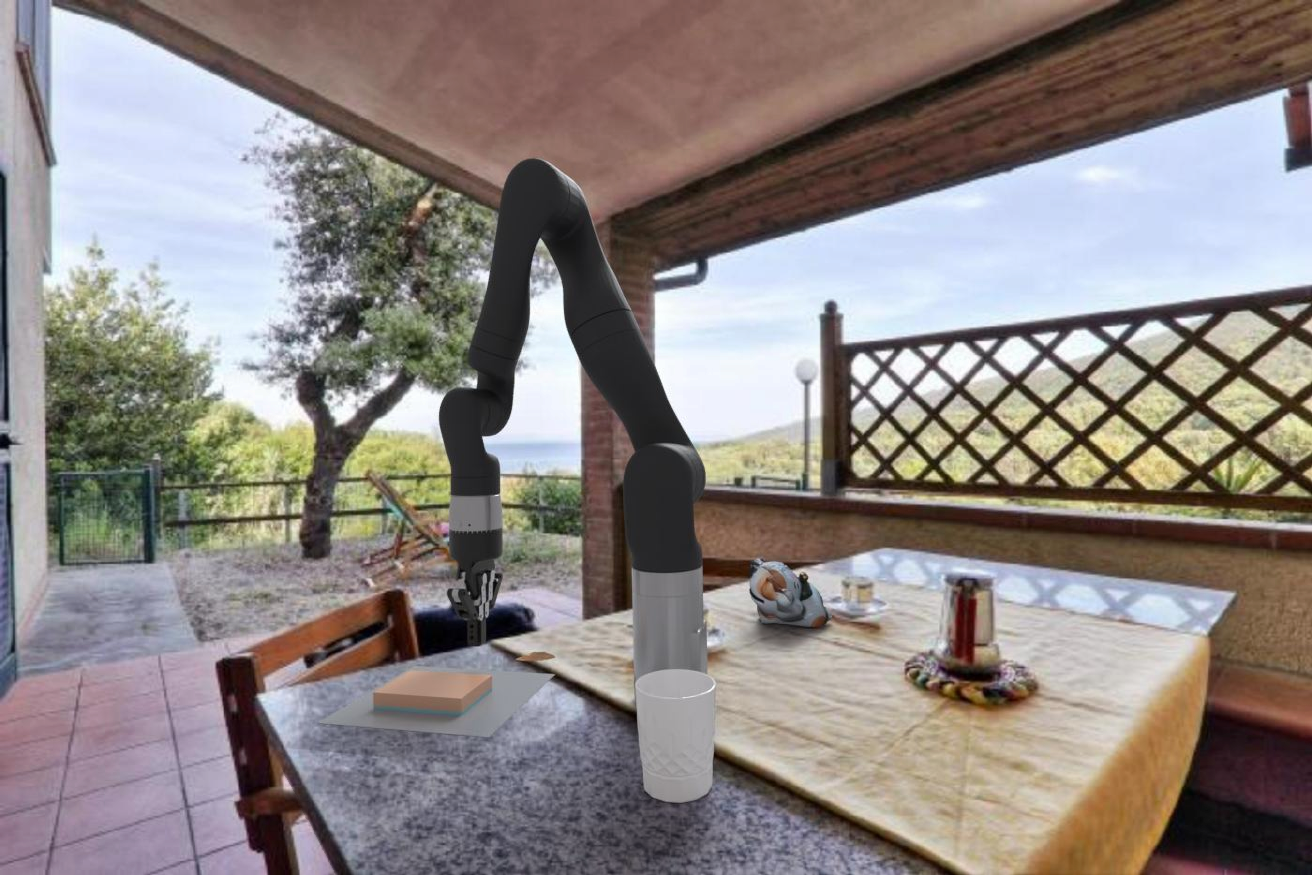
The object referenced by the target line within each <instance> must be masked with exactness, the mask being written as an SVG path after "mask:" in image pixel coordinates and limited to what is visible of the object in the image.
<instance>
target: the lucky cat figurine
mask: <svg viewBox="0 0 1312 875" xmlns="http://www.w3.org/2000/svg"><path fill="white" fill-rule="evenodd" d="M749 564H750V568H749V574H750V578H749V582H748V584H749V590H748V591H749V595H750V598H751V600H752V601H753V602H754V603H755V604H756V611H757V616H758V617H759V619H760V622H761V623H762V624H763V625H764V624H766V625H767V624H784V625H791V626H792V625H793V626H799V627H807V628H811V629H815V630H816V629H817V630H818V629H820V628H821V627H824V626H825V625H826V624H827V623H828V622H829V621H832V618H833V616H832V615H831V613H830V611H829V610H830V609H828V607H827V606H826V607H825V606H824V600H823V597H822V595H821V593H820V591H819V590H818V587H817V588H816V587H815V585H813V583H811V582H809V581H808V580H809V575H808V574H807V573H806V572H805V571H801V572H800V573H799V575H798V576H797V574H796V573H794V572H793V570H792V569H791V568H789V566H788V565H786V564H784V563H783V562H780V561H765V562H764V559H763V558H762V557H758V558H755V559H754V560H753V559H750V561H749Z"/></svg>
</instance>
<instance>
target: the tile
mask: <svg viewBox="0 0 1312 875" xmlns="http://www.w3.org/2000/svg"><path fill="white" fill-rule="evenodd" d="M491 691H492V675H479V674H463V673H447V672H430V671H414V670H410V671H408V672H407V673H405V674H403V675H402V676H400V677H398V678H397V679H395V680H393V681H391V682H390V683H388V684H386V685H385V686H383V687H381V688H380V689H378V690H376V691H375V692H373V709H385V710H399V711H412V712H425V713H438V714H451V715H463V714H464V713H465V712H466V711H468V710H469V709H470V708H471V707H473V706H474V705H475V704H476V703H478V702H479V701H480V700H481V699H482V698H484V697H485V696H486V695H487V694H489V693H490V692H491Z"/></svg>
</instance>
